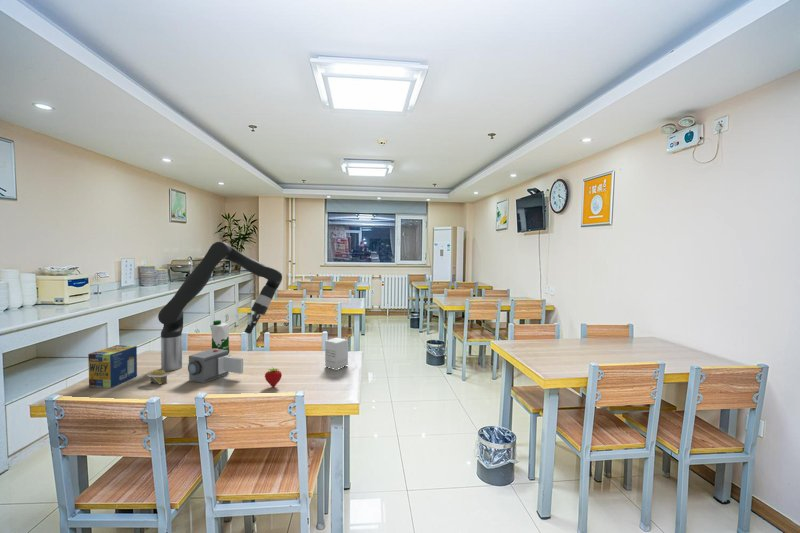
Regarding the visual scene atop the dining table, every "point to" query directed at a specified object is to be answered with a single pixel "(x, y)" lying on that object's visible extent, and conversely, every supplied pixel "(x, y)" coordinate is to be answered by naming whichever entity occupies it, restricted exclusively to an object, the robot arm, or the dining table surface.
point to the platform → (158, 376)
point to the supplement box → (336, 353)
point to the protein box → (112, 366)
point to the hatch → (230, 364)
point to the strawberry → (273, 377)
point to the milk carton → (220, 335)
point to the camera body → (205, 365)
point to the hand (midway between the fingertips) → (247, 332)
